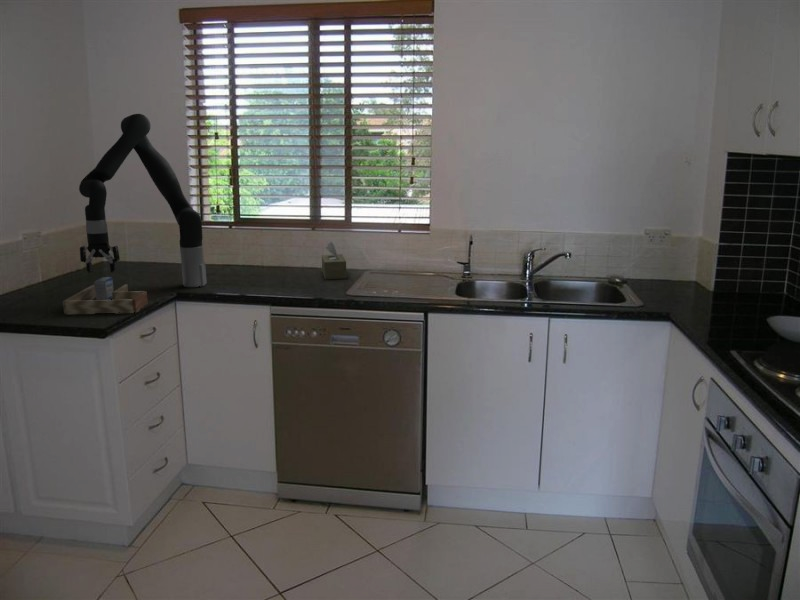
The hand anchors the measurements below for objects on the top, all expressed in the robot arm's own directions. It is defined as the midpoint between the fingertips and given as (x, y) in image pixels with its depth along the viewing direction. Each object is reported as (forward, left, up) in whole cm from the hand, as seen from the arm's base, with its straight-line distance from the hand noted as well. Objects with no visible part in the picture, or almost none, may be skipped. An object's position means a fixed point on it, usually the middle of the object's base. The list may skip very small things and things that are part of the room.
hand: (101, 272), depth 260 cm
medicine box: (0, 0, -12) cm, 12 cm away
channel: (-6, +8, -11) cm, 15 cm away
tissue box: (-89, -41, -12) cm, 99 cm away
